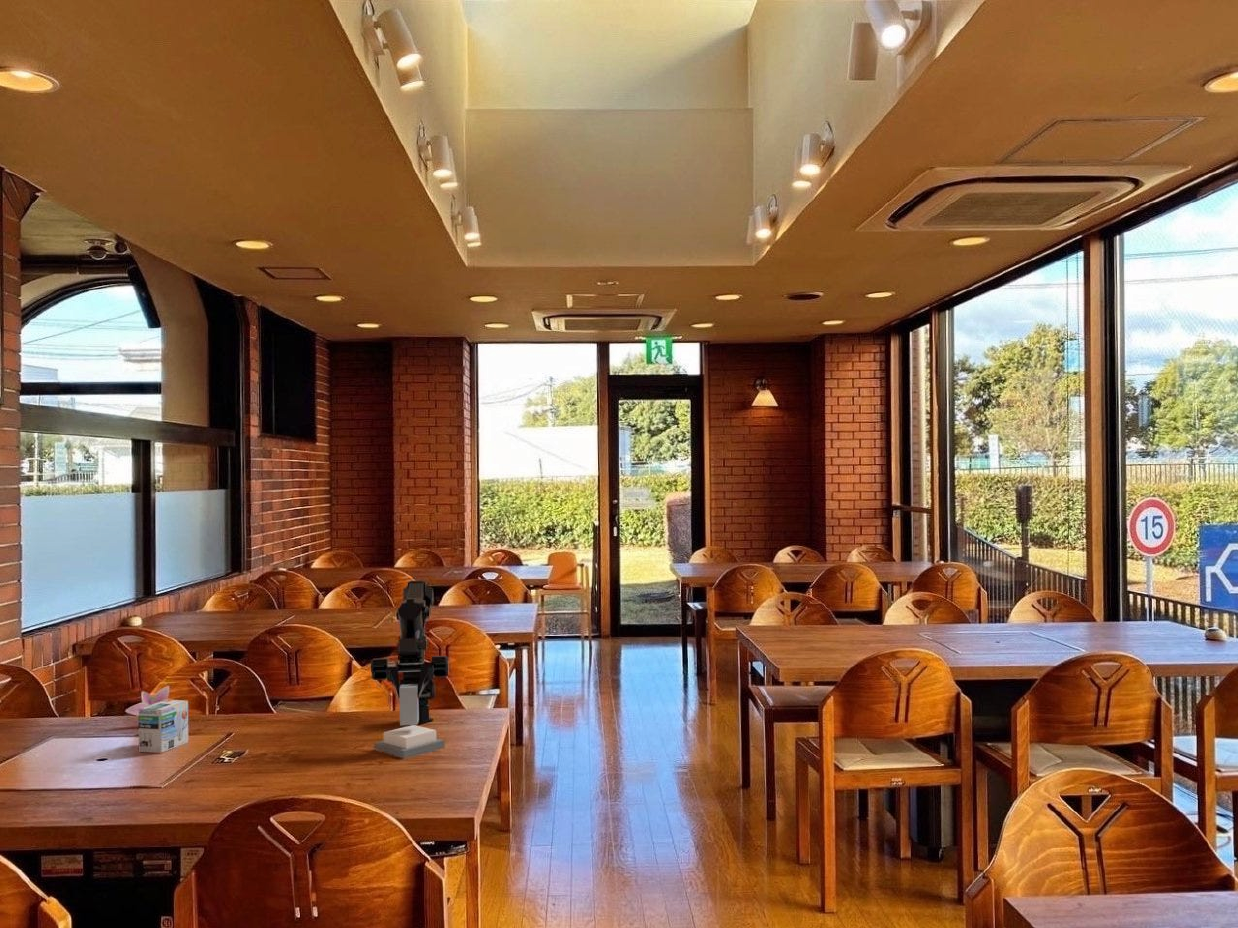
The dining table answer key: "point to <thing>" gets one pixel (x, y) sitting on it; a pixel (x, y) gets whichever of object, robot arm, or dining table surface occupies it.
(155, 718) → the light bulb box
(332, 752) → the dining table surface
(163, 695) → the lily
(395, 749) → the square tray
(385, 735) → the off-white top slab
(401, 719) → the slate block
